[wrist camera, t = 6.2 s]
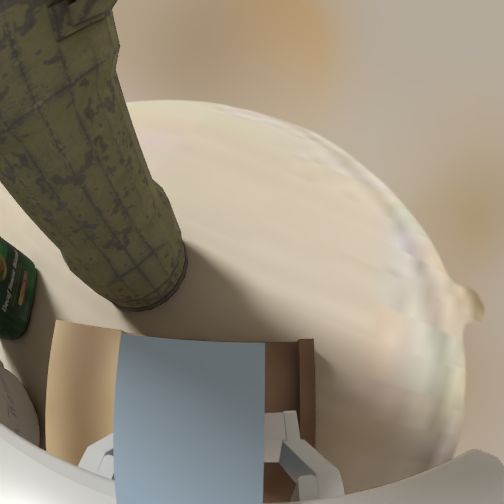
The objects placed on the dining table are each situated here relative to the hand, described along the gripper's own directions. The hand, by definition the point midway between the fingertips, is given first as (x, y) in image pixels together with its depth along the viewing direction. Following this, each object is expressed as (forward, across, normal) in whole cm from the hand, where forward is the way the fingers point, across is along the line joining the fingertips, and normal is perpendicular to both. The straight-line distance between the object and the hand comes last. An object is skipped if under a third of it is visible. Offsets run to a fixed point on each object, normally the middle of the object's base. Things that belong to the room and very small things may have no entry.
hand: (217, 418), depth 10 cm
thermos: (+14, +8, -2) cm, 17 cm away
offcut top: (+2, +8, +3) cm, 9 cm away
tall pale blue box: (+5, 0, +6) cm, 7 cm away
